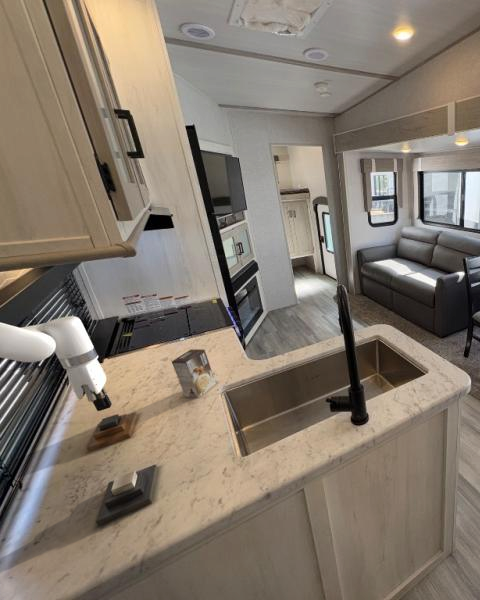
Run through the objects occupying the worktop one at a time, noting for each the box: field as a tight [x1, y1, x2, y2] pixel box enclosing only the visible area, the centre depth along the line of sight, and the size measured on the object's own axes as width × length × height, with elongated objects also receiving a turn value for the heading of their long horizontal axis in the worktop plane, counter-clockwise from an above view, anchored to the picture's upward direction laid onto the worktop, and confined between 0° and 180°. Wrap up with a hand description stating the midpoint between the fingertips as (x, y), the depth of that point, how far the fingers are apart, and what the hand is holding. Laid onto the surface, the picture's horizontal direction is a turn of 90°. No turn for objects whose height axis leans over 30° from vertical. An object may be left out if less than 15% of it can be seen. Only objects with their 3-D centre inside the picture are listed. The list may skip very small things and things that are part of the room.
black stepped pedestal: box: [95, 463, 159, 527], centre depth 77 cm, size 10×12×4 cm
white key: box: [111, 470, 138, 496], centre depth 76 cm, size 4×4×2 cm
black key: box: [99, 413, 120, 431], centre depth 98 cm, size 4×4×2 cm
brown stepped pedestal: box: [86, 411, 138, 453], centre depth 99 cm, size 10×12×4 cm
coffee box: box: [171, 348, 217, 398], centre depth 116 cm, size 9×6×16 cm
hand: (105, 407), depth 96 cm, fingers closed
